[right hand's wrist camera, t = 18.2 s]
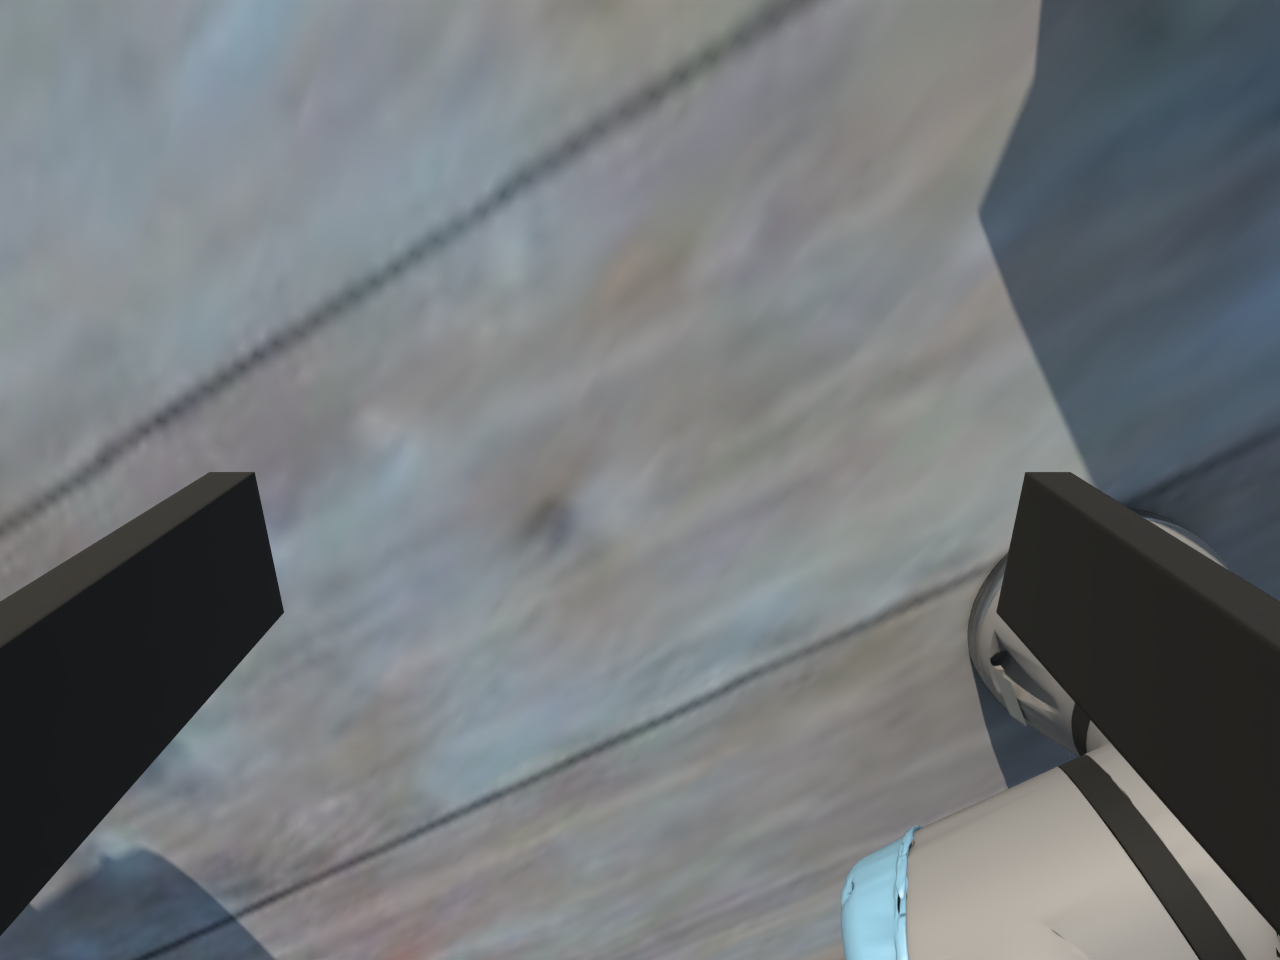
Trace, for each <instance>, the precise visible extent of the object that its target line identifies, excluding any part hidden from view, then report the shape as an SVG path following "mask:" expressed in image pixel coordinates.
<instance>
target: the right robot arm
mask: <svg viewBox="0 0 1280 960" xmlns="http://www.w3.org/2000/svg"><path fill="white" fill-rule="evenodd" d="M283 613H284V610H283V606H282V601H281V596H280V591H279V587H278V582H277V577H276V572H275V567H274V563H273V558H272V553H271V548H270V544H269V539H268V534H267V529H266V524H265V520H264V515H263V510H262V505H261V501H260V496H259V491H258V486H257V481H256V477H255V472H209V473H208V474H206V475H204V476H203V477H201V478H199V479H198V480H196V481H195V482H193V483H191V484H190V485H188V486H187V487H185V488H183V489H182V490H180V491H178V492H177V493H175V494H174V495H172V496H170V497H169V498H167V499H166V500H164V501H162V502H161V503H159V504H157V505H156V506H154V507H153V508H151V509H149V510H148V511H146V512H145V513H143V514H141V515H140V516H138V517H136V518H135V519H133V520H132V521H130V522H128V523H127V524H125V525H124V526H122V527H120V528H119V529H117V530H115V531H114V532H112V533H111V534H109V535H107V536H106V537H104V538H102V539H101V540H99V541H98V542H96V543H94V544H93V545H91V546H90V547H88V548H86V549H85V550H83V551H81V552H80V553H78V554H77V555H75V556H73V557H72V558H70V559H69V560H67V561H65V562H64V563H62V564H60V565H59V566H57V567H56V568H54V569H52V570H51V571H49V572H48V573H46V574H44V575H43V576H41V577H39V578H38V579H36V580H35V581H33V582H31V583H30V584H28V585H26V586H25V587H23V588H22V589H20V590H18V591H17V592H15V593H14V594H12V595H10V596H9V597H7V598H5V599H4V600H2V601H1V602H0V936H1V935H2V933H3V932H4V931H5V930H6V929H7V928H8V927H9V926H10V924H11V923H12V922H13V921H14V920H15V919H16V918H17V916H18V915H19V914H20V913H21V912H22V911H23V910H24V908H25V907H26V906H27V905H28V904H29V903H30V902H31V900H32V899H33V898H34V897H35V896H36V895H37V894H38V892H39V891H40V890H41V889H42V888H43V887H44V886H45V884H46V883H47V882H48V881H49V880H50V879H51V878H52V876H53V875H54V874H55V873H56V872H57V871H58V870H59V868H60V867H61V866H62V865H63V864H64V863H65V862H66V860H67V859H68V858H69V857H70V856H71V855H72V854H73V852H74V851H75V850H76V849H77V848H78V847H79V846H80V844H81V843H82V842H83V841H84V840H85V839H86V838H87V837H88V835H89V834H90V833H91V832H92V831H93V830H94V829H95V827H96V826H97V825H98V824H99V823H100V822H101V821H102V819H103V818H104V817H105V816H106V815H107V814H108V813H109V811H110V810H111V809H112V808H113V807H114V806H115V805H116V803H117V802H118V801H119V800H120V799H121V798H122V797H123V795H124V794H125V793H126V792H127V791H128V790H129V789H130V787H131V786H132V785H133V784H134V783H135V782H136V781H137V779H138V778H139V777H140V776H141V775H142V774H143V773H144V771H145V770H146V769H147V768H148V767H149V766H150V765H151V763H152V762H153V761H154V760H155V759H156V758H157V757H158V755H159V754H160V753H161V752H162V751H163V750H164V749H165V748H166V746H167V745H168V744H169V743H170V742H171V741H172V740H173V738H174V737H175V736H176V735H177V734H178V733H179V732H180V730H181V729H182V728H183V727H184V726H185V725H186V724H187V722H188V721H189V720H190V719H191V718H192V717H193V716H194V714H195V713H196V712H197V711H198V710H199V709H200V708H201V706H202V705H203V704H204V703H205V702H206V701H207V700H208V698H209V697H210V696H211V695H212V694H213V693H214V692H215V690H216V689H217V688H218V687H219V686H220V685H221V684H222V682H223V681H224V680H225V679H226V678H227V677H228V676H229V674H230V673H231V672H232V671H233V670H234V669H235V668H236V666H237V665H238V664H239V663H240V662H241V661H242V660H243V658H244V657H245V656H246V655H247V654H248V653H249V652H250V651H251V649H252V648H253V647H254V646H255V645H256V644H257V643H258V641H259V640H260V639H261V638H262V637H263V636H264V635H265V633H266V632H267V631H268V630H269V629H270V628H271V627H272V625H273V624H274V623H275V622H276V621H277V620H278V619H279V617H280V616H281V615H282V614H283ZM968 646H969V652H970V656H971V659H972V662H973V665H974V667H975V669H976V671H977V673H978V675H979V676H980V678H981V679H982V680H983V682H984V683H985V685H986V686H987V687H988V689H989V690H990V691H991V693H992V694H993V696H994V697H995V698H996V699H997V700H998V701H999V702H1000V704H1001V705H1003V706H1004V707H1005V708H1006V709H1007V710H1008V711H1009V714H1010V715H1011V716H1012V717H1014V718H1015V719H1016V720H1018V721H1019V722H1021V723H1022V724H1024V725H1025V726H1027V725H1026V724H1028V725H1030V726H1031V727H1033V728H1034V729H1036V730H1037V731H1039V732H1041V733H1042V734H1044V735H1045V736H1047V737H1048V738H1050V739H1052V740H1053V741H1055V742H1056V743H1058V744H1059V745H1061V746H1063V747H1064V748H1066V749H1067V750H1069V751H1070V752H1072V753H1074V754H1075V755H1077V756H1078V758H1076V759H1074V760H1071V761H1069V762H1067V763H1065V764H1063V765H1061V766H1058V767H1055V768H1053V769H1051V770H1049V771H1047V772H1044V773H1042V774H1040V775H1038V776H1036V777H1033V778H1031V779H1029V780H1027V781H1025V782H1022V783H1020V784H1018V785H1016V786H1014V787H1011V788H1009V789H1007V790H1005V791H1003V792H1000V793H998V794H996V795H994V796H992V797H989V798H987V799H985V800H983V801H981V802H978V803H976V804H974V805H972V806H970V807H967V808H965V809H963V810H961V811H959V812H956V813H954V814H952V815H950V816H948V817H945V818H943V819H941V820H939V821H937V822H934V823H932V824H930V825H928V826H926V827H921V826H920V825H919V826H915V827H912V828H910V829H909V830H908V831H907V832H906V833H905V835H904V837H902V838H900V839H898V840H897V841H895V842H893V843H891V844H889V845H887V846H885V847H883V848H882V849H880V850H878V851H876V852H874V853H872V854H870V855H868V856H867V857H865V858H863V859H861V860H860V861H859V862H857V863H856V864H855V865H854V867H853V868H852V869H851V871H850V872H849V874H848V876H847V878H846V880H845V883H844V887H843V891H842V898H841V930H842V939H843V947H844V954H845V960H1280V602H1279V601H1278V600H1276V599H1275V598H1273V597H1271V596H1270V595H1268V594H1266V593H1265V592H1263V591H1262V590H1260V589H1258V588H1257V587H1255V586H1254V585H1252V584H1250V583H1249V582H1247V581H1245V580H1244V579H1242V578H1241V577H1239V576H1237V575H1236V574H1234V573H1232V572H1231V571H1230V569H1229V568H1228V567H1227V565H1226V564H1225V562H1224V561H1223V560H1222V559H1221V557H1220V556H1219V555H1218V554H1217V553H1216V552H1215V551H1214V550H1213V549H1212V548H1211V547H1210V546H1209V545H1208V544H1207V543H1206V542H1204V541H1203V540H1202V539H1201V538H1200V537H1198V536H1196V535H1195V534H1193V533H1191V532H1190V531H1188V530H1186V529H1185V528H1183V527H1181V526H1180V525H1178V524H1176V523H1175V522H1173V521H1171V520H1169V519H1167V518H1165V517H1162V516H1159V515H1156V514H1153V513H1150V512H1145V511H1141V510H1133V509H1129V508H1127V507H1126V506H1124V505H1123V504H1121V503H1119V502H1118V501H1116V500H1114V499H1113V498H1111V497H1110V496H1108V495H1106V494H1105V493H1103V492H1102V491H1100V490H1098V489H1097V488H1095V487H1093V486H1092V485H1090V484H1089V483H1087V482H1085V481H1084V480H1082V479H1080V478H1079V477H1077V476H1076V475H1074V474H1072V473H1071V472H1025V477H1024V481H1023V486H1022V491H1021V496H1020V501H1019V505H1018V510H1017V515H1016V520H1015V524H1014V529H1013V534H1012V539H1011V544H1010V548H1009V552H1008V553H1007V554H1006V555H1005V556H1004V557H1003V558H1002V559H1001V560H1000V562H999V563H998V564H997V565H996V566H995V567H994V569H993V570H992V571H991V573H990V574H989V575H988V577H987V578H986V580H985V581H984V583H983V585H982V586H981V588H980V590H979V592H978V594H977V596H976V599H975V601H974V604H973V607H972V610H971V614H970V618H969V624H968Z"/></svg>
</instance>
